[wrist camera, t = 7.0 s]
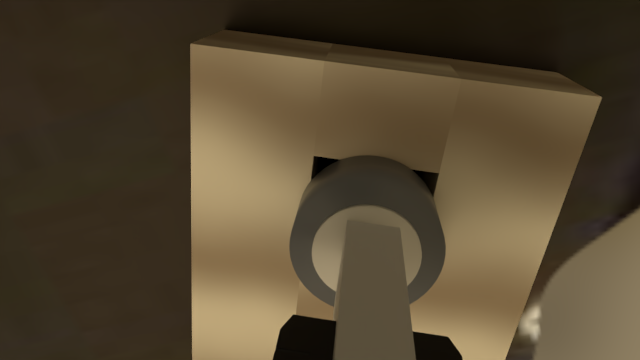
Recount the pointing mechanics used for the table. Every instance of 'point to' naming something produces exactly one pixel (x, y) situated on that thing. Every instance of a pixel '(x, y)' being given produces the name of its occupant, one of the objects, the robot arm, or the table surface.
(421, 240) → the knob
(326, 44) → the board
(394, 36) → the table surface
